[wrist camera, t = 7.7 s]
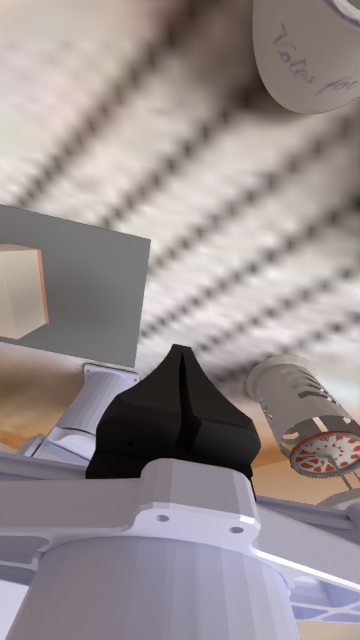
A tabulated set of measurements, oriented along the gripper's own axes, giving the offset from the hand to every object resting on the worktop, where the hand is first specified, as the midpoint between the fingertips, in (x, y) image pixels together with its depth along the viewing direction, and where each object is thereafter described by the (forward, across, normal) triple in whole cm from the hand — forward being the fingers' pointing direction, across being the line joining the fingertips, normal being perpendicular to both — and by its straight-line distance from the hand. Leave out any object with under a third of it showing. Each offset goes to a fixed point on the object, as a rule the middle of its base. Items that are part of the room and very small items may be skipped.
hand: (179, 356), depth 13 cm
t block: (+9, +21, +1) cm, 23 cm away
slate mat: (+9, +16, +2) cm, 19 cm away
